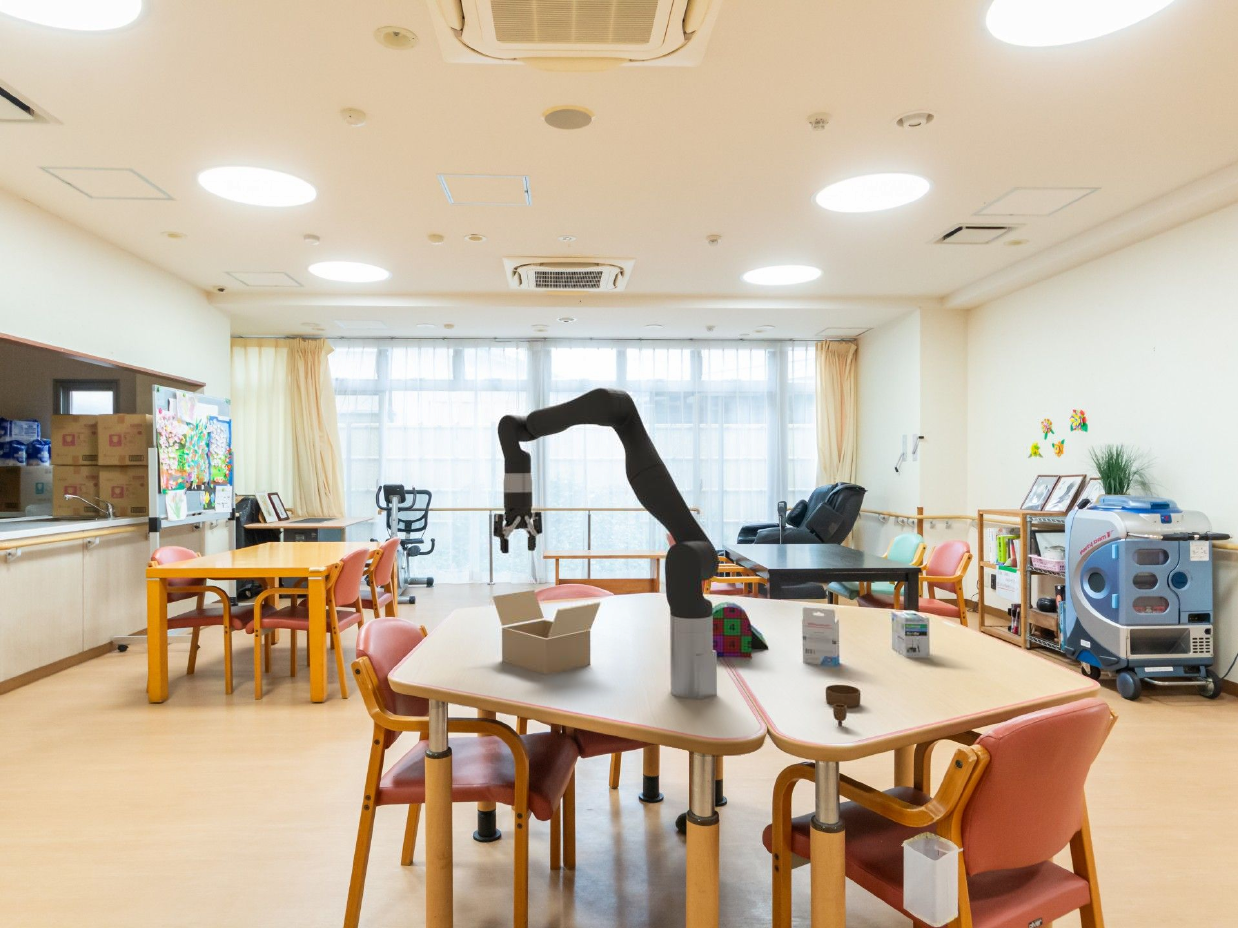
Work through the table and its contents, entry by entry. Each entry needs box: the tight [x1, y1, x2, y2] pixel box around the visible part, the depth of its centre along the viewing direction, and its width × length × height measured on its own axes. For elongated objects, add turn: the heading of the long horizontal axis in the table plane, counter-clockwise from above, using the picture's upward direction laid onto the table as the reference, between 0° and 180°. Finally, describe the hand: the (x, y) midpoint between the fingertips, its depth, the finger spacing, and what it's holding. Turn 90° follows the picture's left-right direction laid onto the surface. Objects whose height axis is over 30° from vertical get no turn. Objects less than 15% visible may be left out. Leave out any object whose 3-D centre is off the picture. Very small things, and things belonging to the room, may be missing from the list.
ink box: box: [801, 606, 840, 667], centre depth 187 cm, size 9×5×15 cm, turn 62°
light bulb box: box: [890, 609, 931, 659], centre depth 198 cm, size 11×7×11 cm, turn 179°
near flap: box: [548, 601, 601, 638], centre depth 177 cm, size 8×13×1 cm
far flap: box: [492, 589, 544, 627], centre depth 193 cm, size 8×13×1 cm
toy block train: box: [713, 601, 769, 659], centre depth 205 cm, size 25×17×14 cm
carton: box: [501, 619, 591, 675], centre depth 185 cm, size 18×14×10 cm
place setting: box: [825, 684, 861, 727], centre depth 150 cm, size 18×20×6 cm
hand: (518, 551), depth 194 cm, fingers open, 8 cm apart
